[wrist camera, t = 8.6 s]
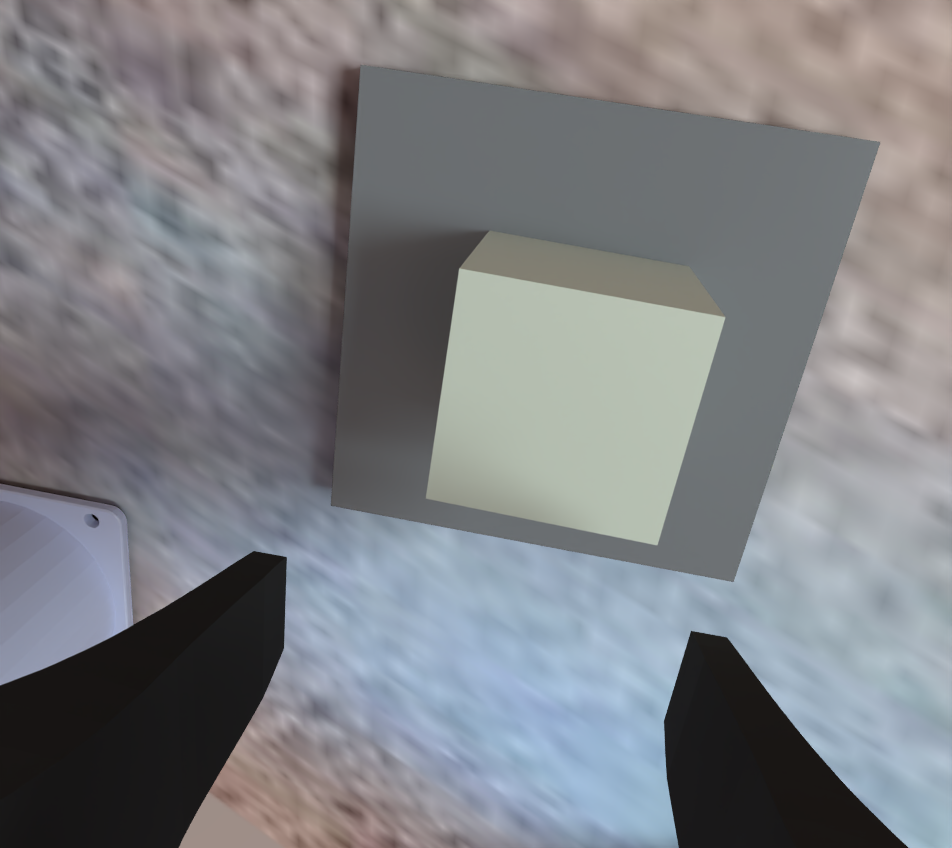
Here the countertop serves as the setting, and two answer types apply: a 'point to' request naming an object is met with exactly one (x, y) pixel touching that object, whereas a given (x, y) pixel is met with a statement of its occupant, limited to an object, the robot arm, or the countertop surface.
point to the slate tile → (595, 227)
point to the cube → (571, 385)
